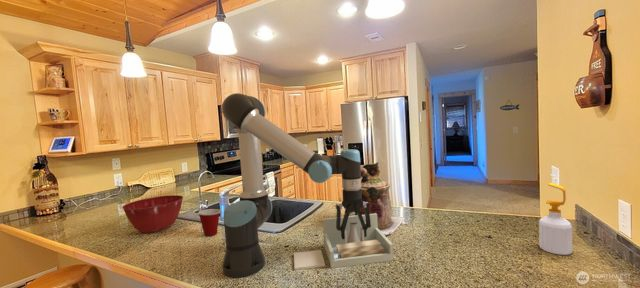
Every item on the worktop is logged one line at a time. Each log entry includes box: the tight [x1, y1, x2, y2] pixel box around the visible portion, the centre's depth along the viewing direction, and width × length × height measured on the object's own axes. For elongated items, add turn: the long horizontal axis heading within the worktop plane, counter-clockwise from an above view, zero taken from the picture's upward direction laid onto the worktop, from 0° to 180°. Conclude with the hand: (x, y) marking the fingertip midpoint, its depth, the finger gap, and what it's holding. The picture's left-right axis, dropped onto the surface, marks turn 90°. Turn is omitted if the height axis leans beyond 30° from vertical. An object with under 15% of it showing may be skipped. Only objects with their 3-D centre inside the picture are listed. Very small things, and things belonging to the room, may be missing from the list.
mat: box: [293, 249, 326, 271], centre depth 102 cm, size 11×12×1 cm
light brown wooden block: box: [335, 240, 384, 259], centre depth 101 cm, size 17×4×6 cm, turn 99°
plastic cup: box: [197, 208, 222, 237], centre depth 135 cm, size 11×11×12 cm
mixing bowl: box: [121, 194, 184, 234], centre depth 149 cm, size 28×28×15 cm
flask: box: [347, 222, 361, 243], centre depth 107 cm, size 7×7×10 cm
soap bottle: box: [538, 182, 573, 256], centre depth 98 cm, size 9×9×25 cm
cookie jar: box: [354, 161, 406, 236], centre depth 133 cm, size 25×25×32 cm
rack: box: [322, 213, 395, 269], centre depth 105 cm, size 23×18×12 cm
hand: (354, 245), depth 108 cm, fingers closed on flask, 6 cm apart
